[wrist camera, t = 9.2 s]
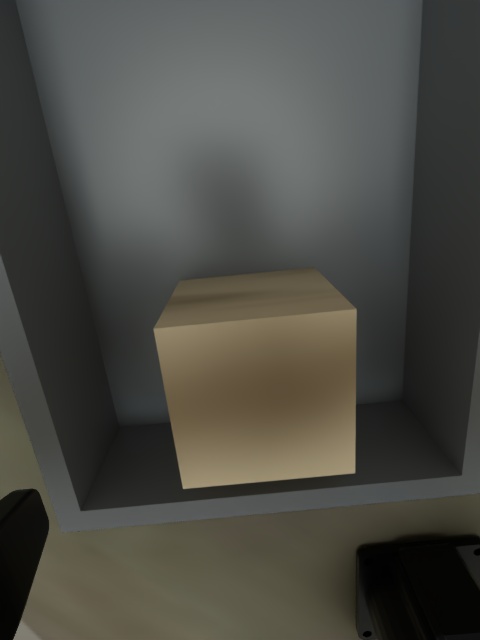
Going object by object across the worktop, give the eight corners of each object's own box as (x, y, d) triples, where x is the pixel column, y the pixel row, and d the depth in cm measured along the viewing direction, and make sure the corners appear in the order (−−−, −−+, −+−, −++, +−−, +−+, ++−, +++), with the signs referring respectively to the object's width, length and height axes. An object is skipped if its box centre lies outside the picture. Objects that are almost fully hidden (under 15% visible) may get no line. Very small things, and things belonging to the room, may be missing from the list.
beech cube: (318, 386, 16) (355, 473, 11) (197, 397, 16) (183, 488, 11) (314, 267, 14) (356, 309, 9) (179, 280, 14) (153, 328, 9)
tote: (413, 406, 17) (484, 493, 12) (109, 436, 17) (62, 532, 12) (447, -122, 11) (612, -356, 6) (-21, -68, 11) (-208, -256, 6)
